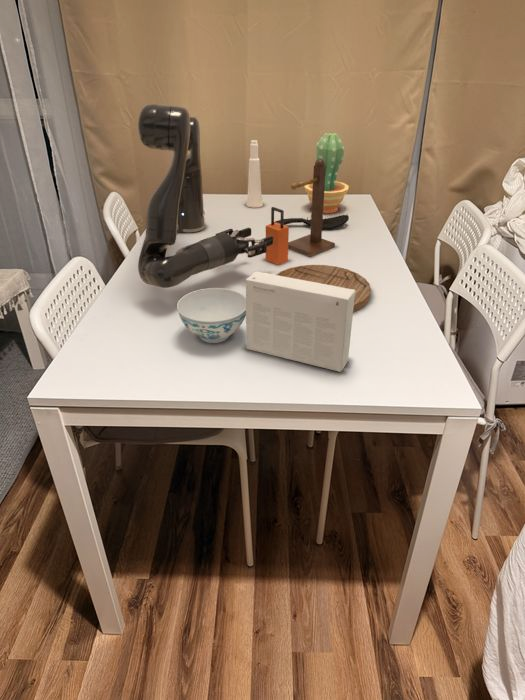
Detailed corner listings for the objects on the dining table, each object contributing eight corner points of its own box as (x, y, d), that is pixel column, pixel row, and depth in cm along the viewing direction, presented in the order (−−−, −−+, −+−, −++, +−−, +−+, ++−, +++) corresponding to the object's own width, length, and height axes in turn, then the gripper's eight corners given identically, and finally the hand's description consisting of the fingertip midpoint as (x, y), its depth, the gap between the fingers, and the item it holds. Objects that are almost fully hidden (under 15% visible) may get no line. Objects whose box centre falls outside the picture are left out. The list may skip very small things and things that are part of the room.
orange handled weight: (277, 265, 149) (278, 212, 141) (265, 259, 152) (265, 207, 144) (288, 261, 151) (289, 208, 143) (275, 255, 154) (276, 204, 146)
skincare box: (349, 359, 110) (357, 289, 101) (341, 373, 106) (348, 301, 97) (256, 336, 117) (255, 269, 108) (244, 348, 113) (243, 280, 104)
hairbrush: (270, 213, 176) (346, 209, 176) (270, 224, 178) (346, 220, 178) (271, 222, 170) (350, 217, 169) (272, 233, 172) (350, 229, 172)
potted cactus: (352, 205, 192) (359, 131, 179) (339, 218, 181) (346, 140, 167) (311, 200, 198) (315, 127, 184) (296, 212, 186) (299, 136, 172)
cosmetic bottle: (242, 205, 193) (241, 140, 181) (253, 201, 196) (253, 137, 185) (255, 208, 189) (255, 143, 177) (266, 204, 193) (266, 140, 181)
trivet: (293, 264, 149) (293, 258, 148) (381, 282, 140) (382, 275, 139) (252, 302, 130) (252, 295, 129) (351, 325, 121) (352, 318, 120)
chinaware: (222, 361, 109) (220, 328, 105) (165, 340, 116) (161, 309, 112) (261, 329, 120) (261, 298, 115) (207, 312, 126) (205, 282, 122)
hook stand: (302, 260, 152) (306, 169, 138) (277, 250, 158) (278, 162, 144) (334, 246, 160) (341, 160, 146) (309, 237, 166) (313, 153, 152)
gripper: (232, 245, 128) (280, 228, 137) (195, 230, 136) (243, 215, 146) (233, 274, 132) (279, 256, 141) (197, 257, 141) (243, 241, 150)
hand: (261, 235), depth 144 cm, fingers open, 8 cm apart
